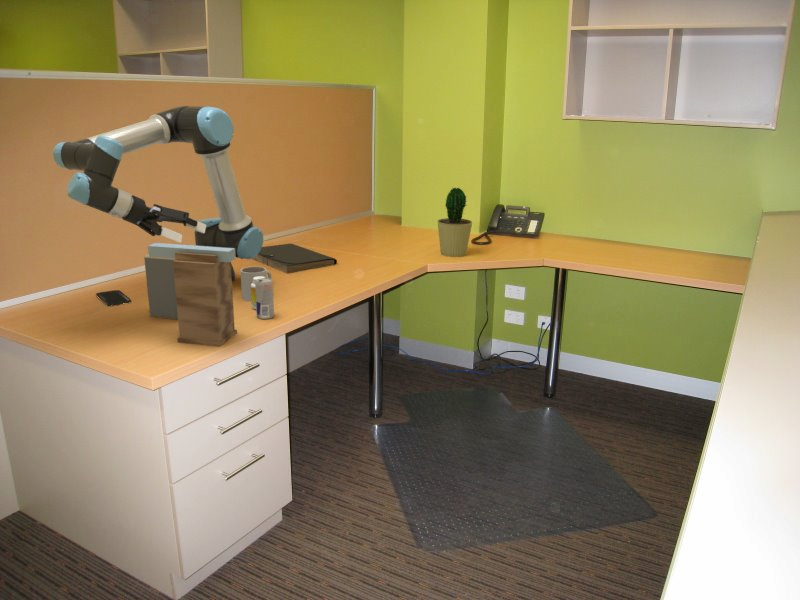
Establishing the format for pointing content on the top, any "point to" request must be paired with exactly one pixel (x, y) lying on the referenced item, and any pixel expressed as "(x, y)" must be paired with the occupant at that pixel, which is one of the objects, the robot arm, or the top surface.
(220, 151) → the robot arm
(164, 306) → the block
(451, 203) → the potted cactus
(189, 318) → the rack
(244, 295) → the mug
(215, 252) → the batten
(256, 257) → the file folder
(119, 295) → the phone
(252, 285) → the supplement bottle
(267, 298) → the energy drink
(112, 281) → the top surface
